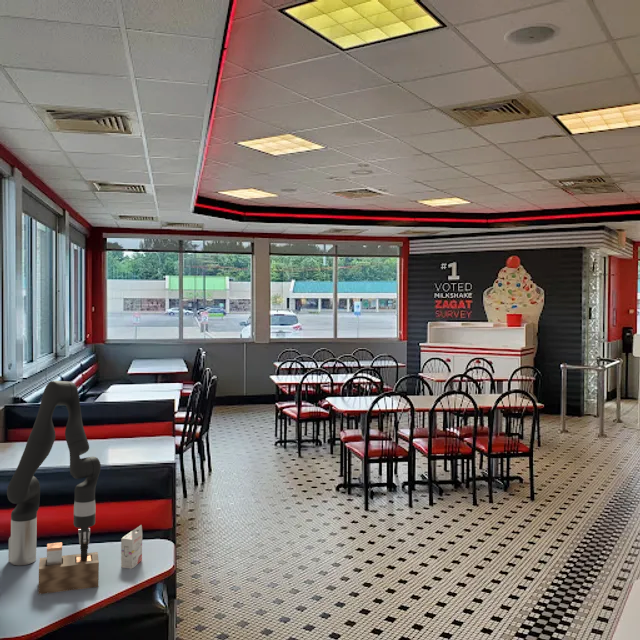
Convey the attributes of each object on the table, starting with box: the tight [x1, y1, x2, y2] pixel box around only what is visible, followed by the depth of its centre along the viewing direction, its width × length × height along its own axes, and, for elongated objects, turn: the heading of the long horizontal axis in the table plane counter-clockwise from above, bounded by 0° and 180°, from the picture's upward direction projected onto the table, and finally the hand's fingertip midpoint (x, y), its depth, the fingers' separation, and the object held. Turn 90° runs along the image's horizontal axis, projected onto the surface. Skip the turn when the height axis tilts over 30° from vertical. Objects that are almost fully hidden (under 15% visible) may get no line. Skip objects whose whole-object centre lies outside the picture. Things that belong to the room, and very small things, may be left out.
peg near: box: [46, 542, 63, 566], centre depth 239 cm, size 5×5×9 cm
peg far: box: [76, 556, 91, 563], centre depth 242 cm, size 5×5×9 cm
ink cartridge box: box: [120, 524, 143, 570], centre depth 260 cm, size 9×5×15 cm, turn 168°
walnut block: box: [37, 551, 100, 595], centre depth 241 cm, size 20×10×9 cm, turn 111°
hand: (83, 558), depth 242 cm, fingers closed
